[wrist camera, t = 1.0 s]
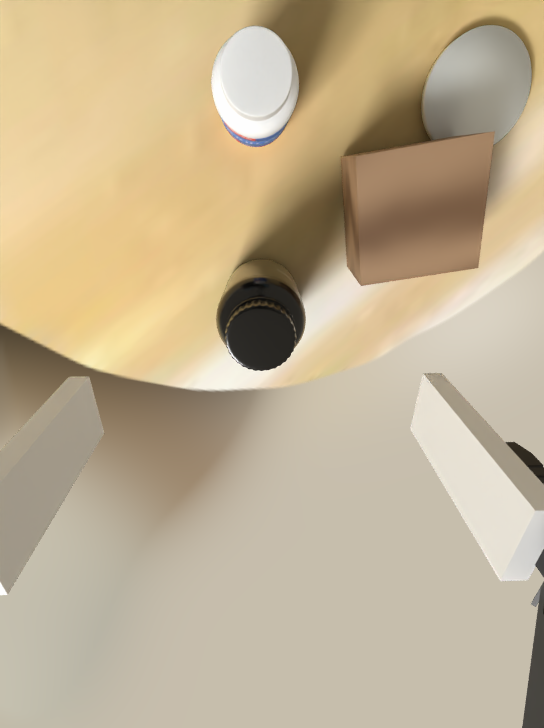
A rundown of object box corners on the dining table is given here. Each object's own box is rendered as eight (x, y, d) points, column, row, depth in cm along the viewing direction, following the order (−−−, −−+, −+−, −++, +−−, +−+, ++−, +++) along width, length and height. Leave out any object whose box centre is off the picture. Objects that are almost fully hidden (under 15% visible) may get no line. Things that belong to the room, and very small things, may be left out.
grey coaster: (432, 28, 26) (437, 23, 26) (538, 30, 27) (546, 26, 26) (412, 154, 30) (416, 153, 29) (507, 155, 30) (513, 154, 29)
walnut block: (340, 156, 29) (356, 156, 24) (454, 136, 29) (494, 131, 24) (347, 266, 34) (360, 285, 29) (445, 250, 33) (478, 267, 28)
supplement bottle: (304, 265, 34) (326, 302, 23) (287, 332, 37) (299, 393, 26) (232, 249, 33) (218, 279, 22) (220, 319, 36) (203, 376, 25)
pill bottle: (222, 148, 29) (207, 132, 21) (217, 65, 27) (197, 6, 18) (290, 147, 29) (303, 130, 21) (290, 64, 27) (305, 5, 18)
